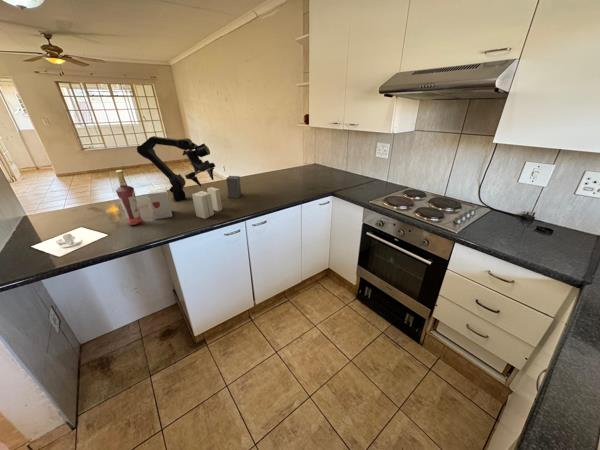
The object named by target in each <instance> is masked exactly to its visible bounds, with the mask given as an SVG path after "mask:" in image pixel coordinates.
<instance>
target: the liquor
mask: <svg viewBox="0 0 600 450" xmlns="http://www.w3.org/2000/svg"><path fill="white" fill-rule="evenodd" d="M115 174H116V176H117V178H118V183H119V187H117V188H116V190H115V193H116V195H117V198H118V200H119V202H120V205H121V207H122V209H123V212H124V215H125V217H126V219H127V224H128V225H130V226H139V225H141V223H142V222H143V218H142V215H141V212H140V208H139V205H138V200H137V196H136V193H135V189H134V187H133V186H131V185H128V183H127V181H126V178H125V176H124V171H123V169H117V170H115Z"/></svg>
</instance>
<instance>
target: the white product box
mask: <svg viewBox="0 0 600 450" xmlns="http://www.w3.org/2000/svg"><path fill="white" fill-rule="evenodd" d="M167 188H168V187H167V186H162V187H153V188H148V189H147V191H148V192H147V196H148V199H149V203H150V207H151V211H152V214H153V219H154V220H160V219H167V218H172V217H173V210H172V207H171V206H172V205H171V202H170V197H169V193H168V189H167Z"/></svg>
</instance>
